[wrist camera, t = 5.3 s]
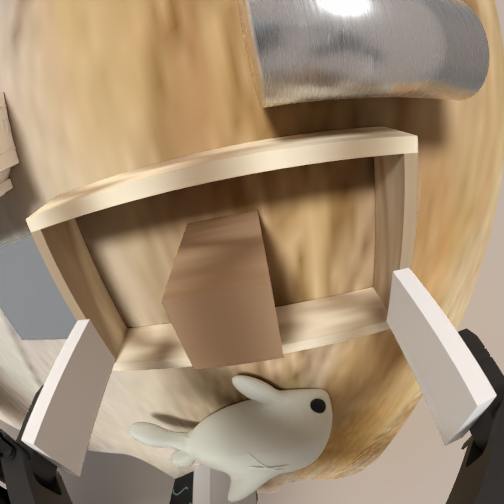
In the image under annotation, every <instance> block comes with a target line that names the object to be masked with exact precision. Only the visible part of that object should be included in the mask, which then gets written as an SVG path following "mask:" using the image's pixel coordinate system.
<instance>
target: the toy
mask: <svg viewBox="0 0 504 504" xmlns="http://www.w3.org/2000/svg"><path fill="white" fill-rule="evenodd" d="M232 382H233V385H234V386H235V388H236V389H237V390H238V391H239V392H241V393H242V394H243V395H245V396H246V397H248V398H250V400H246V401H243V402H239V403H236V404H233V405H230V406H228V407H225V408H223V409H221V410H219V411H217V412H215V413H213V414H211V415H210V416H208V417H207V418H205V419H204V420H203V421H201V422H200V423H199V424H198V425H197V426H196V427H195V428H194V429H193V430H192V431H189V432H173V431H170V430H167V429H165V428H163V427H160V426H158V425H155V424H152V423H146V422H138V423H134V424H132V425H131V426H130V428H129V434H130V435H131V436H132V437H133V438H134V439H135V440H137V441H139V442H141V443H143V444H146V445H148V446H152V447H173V448H176V449H179V450H177V451H175V452H174V453H173V454H172V455H171V463H172V464H173V465H175V466H177V467H183V468H184V467H189V466H191V465H192V464H193V463H194V461H198V462H200V463H202V464H203V465H205V466H208V467H210V468H212V469H215V470H218V471H221V472H225V473H227V474H228V475H229V476H230V479H231V484H230V489H229V492H228V500H229V501H230V502H236V501H239V500H242V499H244V498H245V497H247V496H249V495H250V494H251V493H253V492H254V491H255V490H257V489H258V488H259V487H260V486H262V485H263V484H264V483H265V482H267V481H268V480H269V479H271V478H273V477H274V476H276V475H279V474H284V473H289V472H293V471H297V470H300V469H302V468H305V467H307V466H309V465H310V464H311V463H313V462H314V461H316V459H317V458H318V457H319V456H320V454H321V453H322V452H323V450H324V448H325V446H326V444H327V442H328V439H329V436H330V432H331V428H332V421H333V413H332V406H331V401H330V397H329V395H328V393H327V392H326V391H325V390H323V389H315V388H312V389H292V390H277V389H275V388H273V387H272V386H270V385H269V384H267V383H265V382H263V381H261V380H259V379H256V378H253V377H250V376H244V375H237V376H234V377H233V378H232Z"/></svg>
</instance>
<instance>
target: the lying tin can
mask: <svg viewBox="0 0 504 504" xmlns="http://www.w3.org/2000/svg"><path fill="white" fill-rule="evenodd" d="M238 6H239V13H240V19H241V25H242V30H243V36H244V41H245V46H246V50H247V55H248V60H249V65H250V69H251V74H252V78H253V82H254V86H255V90H256V93H257V96H258V100H259V102H260V105H261V107H262V108H265V107H272V106H278V105H286V104H294V103H302V102H312V101H322V100H335V99H351V98H380V97H403V98H431V99H446V100H466V99H468V98H470V97H472V96H473V95H475V94H476V93H477V92H478V91H479V89H480V88H481V86H482V85H483V83H484V81H485V78H486V75H487V72H488V67H489V47H488V41H487V37H486V34H485V31H484V28H483V26H482V24H481V22H480V20H479V18H478V17H477V15H476V14H475V12H474V11H473V10H472V9H471V8H470V7H469V6H468V5H467V4H466V3H465V2H463V1H462V0H238Z"/></svg>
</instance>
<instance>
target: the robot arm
mask: <svg viewBox="0 0 504 504" xmlns="http://www.w3.org/2000/svg"><path fill="white" fill-rule="evenodd" d="M387 323H388V325H389V327H390V329H391V330H392V332H393V334H394V336H395V338H396V340H397V342H398V344H399V346H400V348H401V350H402V352H403V354H404V356H405V358H406V360H407V362H408V364H409V366H410V368H411V370H412V372H413V374H414V376H415V378H416V380H417V382H418V384H419V387H420V389H421V391H422V393H423V395H424V397H425V400H426V402H427V404H428V406H429V409H430V411H431V413H432V415H433V418H434V420H435V423H436V425H437V427H438V430H439V432H440V434H441V437H442V440H443V442H444V445H445V446H446V445H448V444H449V443H452V442H454V441H456V440H458V439H460V438H462V437H463V436H464V435H465V434H466V433H467V432H468V430H470V432H471V434H472V436H471V437H470V438H469V439H468V440H467V441H466V442H465V443H464V444H463V446H462V448H461V449H464V448H466V447H467V446H468V447H467V450H466V453H465V456H464V459H463V462H462V465H461V468H460V471H459V473H458V476H457V479H456V481H455V483H454V486H453V488H452V491H451V493H450V495H449V498H448V500H447V502H446V504H504V375H503V374H502V373H501V371H500V369H499V368H498V366H497V364H496V363H495V361H494V360H493V358H492V357H490V354H489V352H488V351H487V349H485V348H484V345H483V344H482V342H481V341H480V339H479V338H478V337H477V336H476V335H475V334H474V333H472V332H471V331H469V330H468V329H464V330H461V331H459V332H457V331H456V329H455V328H454V327H453V325H452V324H451V322H450V321H449V320H448V318H447V317H446V315H445V314H444V313H443V311H442V310H441V308H440V307H439V306H438V304H437V303H436V302H435V300H434V299H433V298H432V296H431V295H430V294H429V293H428V291H427V290H426V289H425V287H424V286H423V285H422V284H421V282H420V281H419V280H418V279H417V277H416V276H415V275H414V274H413V272H412V271H411V270H410V269H409V268H405V269H401V270H396V271H393V274H392V284H391V292H390V300H389V308H388V315H387ZM115 361H116V359H115V358H114V356H113V355H112V353H111V352H110V351H109V349H108V348H107V346H106V344H105V343H104V341H103V340H102V338H101V337H100V335H99V334H98V332H97V330H96V329H95V327H94V325H93V324H92V322H91V320H90V319H87V320H78V321H77V322H76V324H75V326H74V328H73V330H72V331H71V333H70V335H69V337H68V339H67V340H66V342H65V344H64V346H63V348H62V350H61V352H60V354H59V356H58V358H57V359H56V361H55V363H54V365H53V367H52V369H51V371H50V374H49V376H48V378H47V380H46V382H45V384H44V385H43V386H42V387H41V388H40V389H39V390H38V392H37V393H36V395H35V397H34V399H33V401H32V405H31V406H30V408H29V412H28V413H27V415H26V418H25V420H24V422H23V425H22V427H21V430H20V433H19V435H18V438H17V440H16V441H15V440H14V439H12V438H11V437H10V436H9V435H8V434H6V433H5V432H4V431H3V430H2V429H0V481H2V482H3V483H5V484H6V487H7V490H6V489H4V488H3V487H1V486H0V504H72V501H71V499H70V497H69V495H68V492H67V490H66V487H65V485H64V482H63V480H62V477H61V475H60V474H59V472H57V471H56V470H57V467H59V468H60V469H62V470H63V471H65V472H66V473H69V474H73V475H76V476H80V474H81V470H82V466H83V462H84V459H85V455H86V451H87V448H88V444H89V440H90V437H91V433H92V430H93V427H94V423H95V420H96V417H97V414H98V410H99V407H100V404H101V401H102V398H103V395H104V392H105V389H106V386H107V383H108V380H109V377H110V375H111V372H112V369H113V366H114V363H115Z"/></svg>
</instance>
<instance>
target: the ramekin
mask: <svg viewBox="0 0 504 504" xmlns="http://www.w3.org/2000/svg"><path fill="white" fill-rule="evenodd" d="M6 106H7V105H6V104H5V98H4V92H0V197H1V196H3V195H4V194H5V192H7V191H9V190H10V189H12V188H13V186H12V183H11V180H10V179H8V178H9V174H10V170H11V167H13V166H14V165H16V164H18V163H19V160H18V157H17V153H16V147H15V145H14V142H13V137H12V132H11V127H10V123H9V119H8V115H7V110H6Z"/></svg>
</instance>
